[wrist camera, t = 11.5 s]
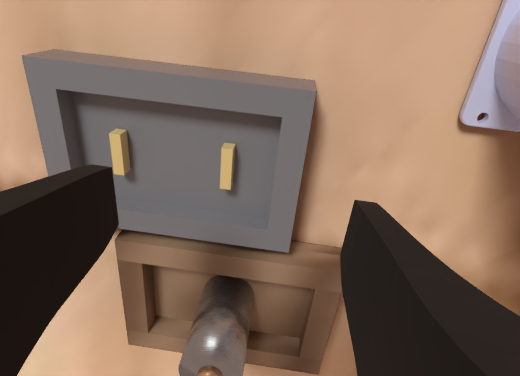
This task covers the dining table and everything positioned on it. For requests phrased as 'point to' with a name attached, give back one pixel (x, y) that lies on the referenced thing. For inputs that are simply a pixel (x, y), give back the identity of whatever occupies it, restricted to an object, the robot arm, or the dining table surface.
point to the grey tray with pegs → (179, 142)
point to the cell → (219, 329)
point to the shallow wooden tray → (234, 265)
